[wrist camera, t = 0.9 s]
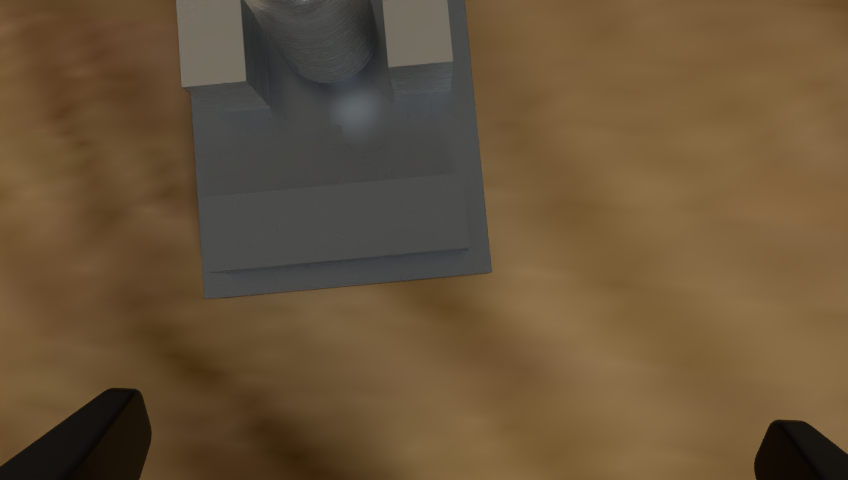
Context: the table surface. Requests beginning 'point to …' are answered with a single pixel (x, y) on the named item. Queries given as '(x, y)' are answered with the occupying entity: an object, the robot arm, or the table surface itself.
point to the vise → (334, 154)
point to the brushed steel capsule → (319, 35)
